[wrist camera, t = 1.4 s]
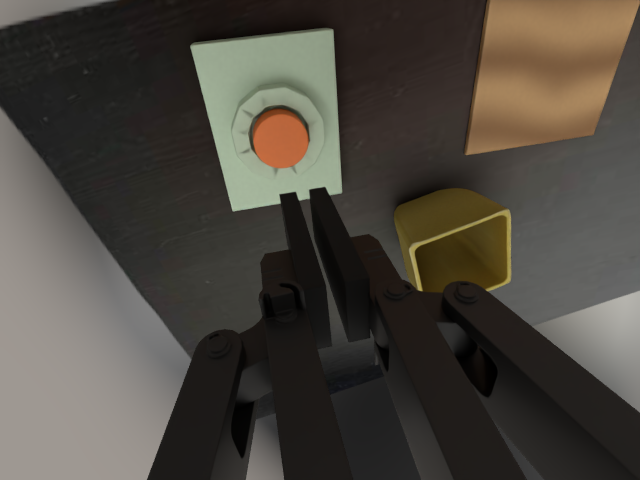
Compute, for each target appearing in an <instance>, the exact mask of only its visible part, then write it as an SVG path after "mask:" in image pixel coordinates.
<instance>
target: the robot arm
mask: <svg viewBox="0 0 640 480" xmlns="http://www.w3.org/2000/svg"><path fill="white" fill-rule="evenodd" d="M309 195H310V204H311V213H312V222H313V231H314V239H315V242H316V245H317V248H318V251H319V254H320V257H321V260H322V263H323V266H324V269H325V272H326V275H327V278H328V281H329V284H330V288H331V291H332V294H333V297H334V300H335V303H336V306H337V309H338V312H339V315H340V318H341V321H342V324H343V327H344V330H345V333H346V336H347V339H348V342H354V341H358V340H363V339H367V338H370V329H371V331H372V334H373V336H374V360H375V365H378V360H379V363H380V366H381V368H382V371H383V374H384V377H385V380H386V382H387V385H388V388H389V391H390V393H391V396H392V399H393V402H394V405H395V407H396V410H397V413H398V416H399V419H400V421H401V424H402V427H403V430H404V432H405V435H406V438H407V441H408V444H409V446H410V449H411V452H412V455H413V457H414V460H415V463H416V466H417V469H418V472H419V474H420V477H421V480H527V479H526V477H525V476H524V474H523V472H522V470H521V469H520V467H519V465H518V463H517V462H516V460H515V459H514V457H513V455H512V453H511V451H510V450H509V448H508V446H507V445H506V443H505V441H504V439H503V438H502V436H501V434H500V433H499V431H498V429H497V427H496V426H495V424H494V422H495V423H496V424H497V426H498V427H499V428H500V429H501V430H502V431H503V433H504V434H505V435H506V436H507V437H508V438H509V440H510V441H511V442H512V443H513V444H514V445H515V446H516V448H517V449H518V450H519V451H520V452H521V453H522V455H523V456H524V457H525V458H526V459H527V460H528V461H529V463H530V464H531V465H532V466H533V467H534V468H535V469H536V471H537V472H538V473H539V474H540V475H541V476H542V478H543V479H544V480H640V413H639V412H638V411H637V410H636V409H635V408H633V407H632V406H631V405H629V404H628V403H627V402H626V401H625V400H623V399H622V398H621V397H619V396H618V395H617V394H616V393H614V392H613V391H612V390H610V389H609V388H608V387H607V386H605V385H604V384H603V383H602V382H601V381H599V380H598V379H597V378H596V377H594V376H593V375H592V374H591V373H589V372H588V371H587V370H586V369H584V368H583V367H582V366H581V365H579V364H578V363H577V362H576V361H574V360H573V359H572V358H571V357H569V356H568V355H567V354H565V353H564V352H563V351H562V350H560V349H559V348H558V347H557V346H555V345H554V344H553V343H552V342H550V341H549V340H548V339H547V338H545V337H544V336H543V335H542V334H540V333H539V332H538V331H537V330H535V329H534V328H533V327H532V326H530V325H529V324H528V323H527V322H525V321H524V320H523V319H522V318H520V317H519V316H518V315H517V314H515V313H514V312H513V311H512V310H510V309H509V308H508V307H507V306H505V305H504V304H503V303H502V302H500V301H499V300H498V299H497V298H495V297H494V296H493V295H491V294H490V293H489V292H488V291H486V290H485V289H484V288H483V287H481V286H479V285H477V284H475V283H472V282H469V281H455V282H451V283H449V284H448V285H446V287H445V289H444V290H443V293H441V292H424V291H419V290H416V288H415V287H414V286H413V285H412V284H411V283H409V282H407V281H405V280H402V279H401V277H400V276H399V274H398V272H397V271H396V269H395V268H394V266H393V264H392V263H391V261H390V259H389V258H388V256H387V254H386V253H385V251H384V250H383V248H382V246H381V244H380V243H379V241H378V240H377V239H375V238H374V237H372V236H371V235H369V234H367V235H362V236H356V237H351V238H350V236H349V234H348V232H347V230H346V228H345V226H344V224H343V222H342V220H341V218H340V216H339V214H338V212H337V210H336V208H335V206H334V204H333V201H332V199H331V197H330V195H329V193H328V191H327V189H326V187H321V188H314V189H309ZM279 196H280V202H281V208H282V214H283V220H284V226H285V232H286V238H287V244H288V249H289V250H284V251H278V252H273V253H267V254H265V255H264V257H263V259H262V261H261V273H262V285H263V290H262V291H261V292H260V294H259V303H260V307H261V311H262V315H263V316H262V318H261V320H260V321H259V322H258V323H257V324H256V325H255V326H253V327H252V328H250V329H248V330H246V331H244V332H242V333H240V334H238V333H236V332H235V331H233V330H226V329H224V330H218V331H215V332H213V333H211V334H209V335H207V336H206V337H205V338H203V339H202V340H201V341H200V342H199V344H198V346H197V347H196V350H195V352H194V355H193V358H192V360H191V363H190V366H189V368H188V371H187V374H186V376H185V379H184V382H183V385H182V387H181V390H180V392H179V395H178V398H177V401H176V403H175V406H174V409H173V411H172V414H171V417H170V420H169V422H168V425H167V427H166V430H165V433H164V435H163V439H162V441H161V444H160V446H159V449H158V452H157V454H156V457H155V460H154V462H153V465H152V468H151V470H150V473H149V476H148V479H147V480H246V475H247V468H248V463H249V457H250V451H251V445H252V439H253V433H254V427H255V421H256V415H257V409H258V403H259V398H260V397H262V396H264V395H266V394H267V393H269V392H271V391H273V396H274V404H275V412H276V419H277V427H278V435H279V442H280V450H281V458H282V464H283V472H284V480H353V477H352V474H351V470H350V466H349V462H348V459H347V455H346V451H345V448H344V444H343V441H342V437H341V433H340V430H339V426H338V423H337V419H336V415H335V412H334V408H333V404H332V401H331V397H330V394H329V390H328V386H327V383H326V379H325V376H324V372H323V368H322V365H321V361H320V357H319V354H318V350H317V349H321V348H326V347H330V346H332V342H331V332H330V322H329V312H328V302H327V291H326V284H325V281H324V278H323V275H322V272H321V269H320V266H319V262H318V259H317V256H316V253H315V250H314V247H313V244H312V240H311V237H310V234H309V231H308V228H307V225H306V222H305V218H304V215H303V212H302V209H301V206H300V203H299V200H298V196H297V193H296V192H290V193H284V194H279ZM493 421H494V422H493Z"/></svg>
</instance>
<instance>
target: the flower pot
mask: <svg viewBox="0 0 640 480" xmlns="http://www.w3.org/2000/svg"><path fill="white" fill-rule="evenodd" d="M394 222H395V226H396V230H397V234H398V238H399V242H400V246H401V250H402V255H403V259H404V264H405V268H406V272H407V275H408V278H409V280H410V283H411V284H412V285H413V286H414V287H415V288H416V290H419V291H424V292H441V293H443V290H444V289H445V287H446V285H448V284H449V283H451V282H455V281H469V282H472V283H475V284H477V285H479V286H481V287H483V288H484V289H485V290H486V291H490V290H493V289H496V288H498V287H501V286H503V285H505V284H507V283H509V282H510V280H511V214H510V211H509V210H508V209H507V208H505V207H503V206H501V205H499V204H497V203H495V202H493V201H492V200H490V199H488V198H486V197H484V196H482V195H480V194H478V193H476V192H474V191H471V190H467V189H461V188H450V189H443V190H438V191H435V192H433V193H430V194H428V195H425V196H422V197H420V198H417V199H415V200H412V201H409V202H407V203H404V204H401V205H399V206H398V207H397V208H396V210H395V212H394Z"/></svg>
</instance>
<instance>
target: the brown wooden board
mask: <svg viewBox="0 0 640 480" xmlns="http://www.w3.org/2000/svg"><path fill="white" fill-rule="evenodd" d="M639 4H640V0H487V4H486V11H485V17H484V24H483V30H482V37H481V44H480V50H479V57H478V64H477V70H476V77H475V84H474V90H473V97H472V104H471V110H470V117H469V124H468V130H467V137H466V143H465V150H464V154H465V155H471V154H477V153H483V152H490V151H496V150H502V149H508V148H515V147H521V146H527V145H533V144H539V143H546V142H552V141H558V140H564V139H571V138H577V137H583V136H589V135H593V134H594V131H595V129H596V126H597V123H598V120H599V117H600V114H601V112H602V109H603V106H604V103H605V100H606V97H607V95H608V92H609V89H610V86H611V83H612V80H613V78H614V75H615V72H616V69H617V66H618V63H619V61H620V58H621V55H622V52H623V49H624V46H625V44H626V41H627V38H628V35H629V32H630V29H631V27H632V24H633V21H634V18H635V15H636V12H637V10H638V7H639Z"/></svg>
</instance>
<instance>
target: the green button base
mask: <svg viewBox="0 0 640 480" xmlns="http://www.w3.org/2000/svg"><path fill="white" fill-rule="evenodd" d="M190 47H191V51H192V55H193V59H194V63H195V66H196V70H197V74H198V78H199V82H200V86H201V90H202V94H203V98H204V102H205V105H206V109H207V113H208V117H209V121H210V125H211V129H212V133H213V137H214V141H215V144H216V148H217V152H218V156H219V160H220V164H221V168H222V172H223V176H224V180H225V183H226V187H227V191H228V195H229V199H230V203H231V207H232V211H238V210H244V209H250V208H256V207H262V206H268V205H274V204H280V203H281V202H280V196H279V194H284V193H290V192H296V193H297V196H298V200H304V199H310V195H309V189H314V188H321V187H326V189H327V191H328V193H329V195H334V194H340V193H342V180H341V162H340V143H339V125H338V107H337V88H336V70H335V51H334V33H333V29H329V28H320V29H311V30H302V31H293V32H284V33H275V34H266V35H257V36H248V37H239V38H230V39H221V40H212V41H203V42H194V43H193V44H192V45H190ZM272 109H286V110H289V111H291V112H293V113H294V114H296V115H297V116H298V117H299V119H300V120H301V121H302V123H303V125H304V127H305V129H306V131H307V134H308V139H309V143H308V149H307V151H306V154H305V155H304V157H303V158H302V159H301V160H300V161H299V162H298V163H297V164H295V165H293V166H291V167H288V168H274V167H271V166H269V165H267V164H265V163H264V162H263V161H262V160H261V159H260V158H259V157H258V155H257V154H256V151H255V148H254V143H253V128H254V125H255V123H256V121H257V119H258V118H259V117H260V116H261V115H262V114H264V113H265V112H267V111H269V110H272Z"/></svg>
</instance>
